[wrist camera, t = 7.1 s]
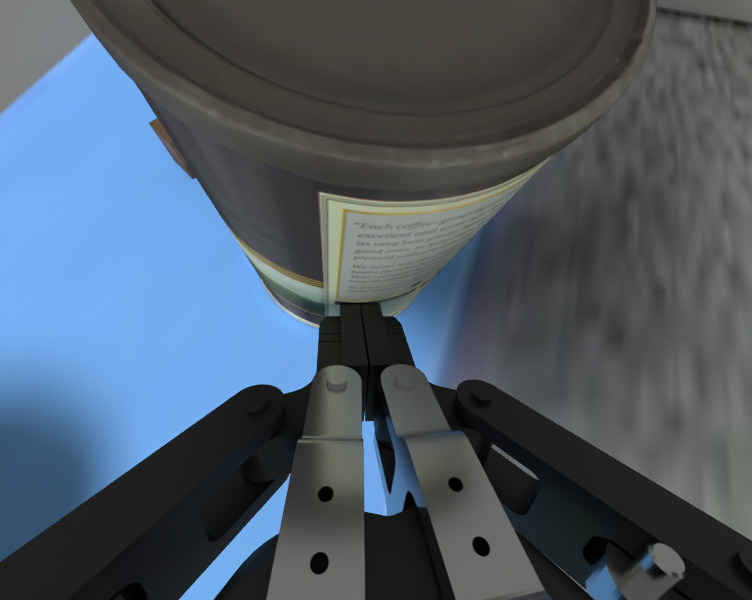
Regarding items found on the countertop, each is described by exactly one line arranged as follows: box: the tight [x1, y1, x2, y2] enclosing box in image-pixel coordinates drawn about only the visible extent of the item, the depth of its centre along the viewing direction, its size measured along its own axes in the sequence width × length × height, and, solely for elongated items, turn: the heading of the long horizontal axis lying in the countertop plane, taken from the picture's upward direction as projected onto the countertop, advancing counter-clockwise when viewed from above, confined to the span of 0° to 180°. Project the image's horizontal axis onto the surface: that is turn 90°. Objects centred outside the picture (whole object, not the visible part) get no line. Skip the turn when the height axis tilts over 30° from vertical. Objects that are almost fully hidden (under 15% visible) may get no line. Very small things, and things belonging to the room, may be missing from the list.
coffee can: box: [70, 0, 657, 328], centre depth 12 cm, size 10×10×14 cm
